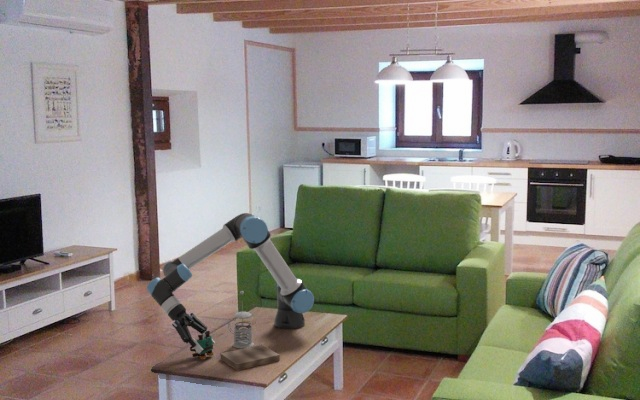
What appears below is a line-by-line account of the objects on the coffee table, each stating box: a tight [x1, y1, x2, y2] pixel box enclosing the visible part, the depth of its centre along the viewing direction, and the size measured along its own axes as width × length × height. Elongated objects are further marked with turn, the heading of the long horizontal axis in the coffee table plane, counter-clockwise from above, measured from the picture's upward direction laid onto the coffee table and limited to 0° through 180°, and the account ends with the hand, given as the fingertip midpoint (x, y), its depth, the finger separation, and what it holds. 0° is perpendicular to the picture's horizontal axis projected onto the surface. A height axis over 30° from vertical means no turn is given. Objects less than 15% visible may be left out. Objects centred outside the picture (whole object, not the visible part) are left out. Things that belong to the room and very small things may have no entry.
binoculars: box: [189, 330, 214, 360], centre depth 296 cm, size 9×11×10 cm
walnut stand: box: [219, 344, 281, 371], centre depth 292 cm, size 20×16×2 cm
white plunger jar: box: [227, 290, 255, 349], centre depth 311 cm, size 10×12×25 cm
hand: (207, 348), depth 295 cm, fingers closed on binoculars, 9 cm apart
